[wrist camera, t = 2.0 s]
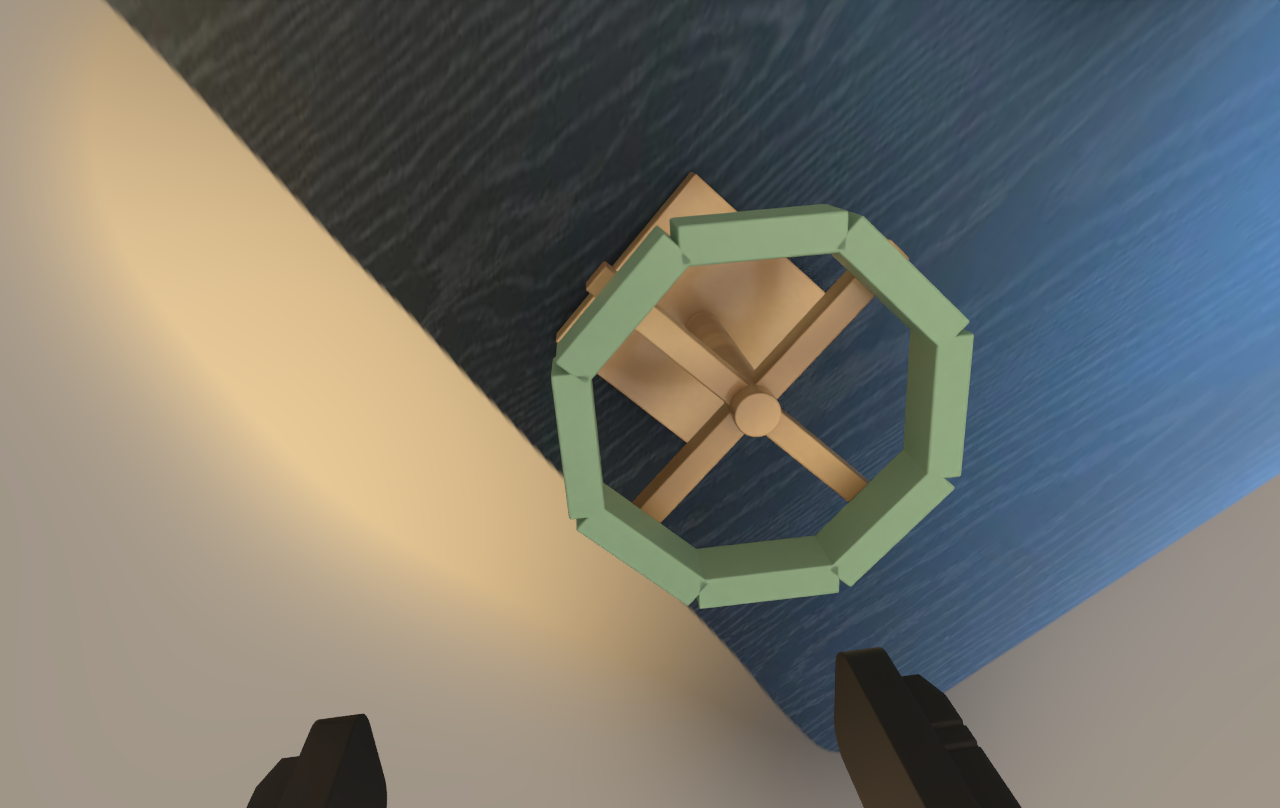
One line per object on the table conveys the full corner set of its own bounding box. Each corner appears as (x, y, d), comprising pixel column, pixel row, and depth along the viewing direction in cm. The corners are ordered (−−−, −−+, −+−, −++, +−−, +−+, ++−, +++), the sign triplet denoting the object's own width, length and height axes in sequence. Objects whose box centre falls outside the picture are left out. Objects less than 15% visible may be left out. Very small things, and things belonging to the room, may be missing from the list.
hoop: (1015, 379, 26) (1049, 399, 24) (757, 627, 28) (770, 663, 27) (746, 116, 22) (762, 116, 20) (480, 435, 25) (472, 460, 23)
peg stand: (892, 300, 37) (1044, 385, 25) (706, 495, 40) (763, 653, 28) (687, 105, 33) (752, 94, 21) (498, 339, 36) (460, 446, 24)
